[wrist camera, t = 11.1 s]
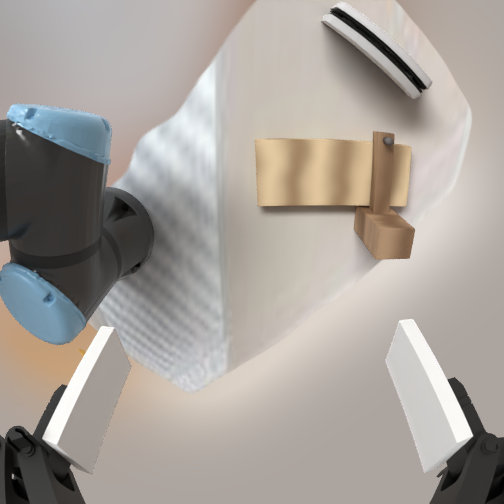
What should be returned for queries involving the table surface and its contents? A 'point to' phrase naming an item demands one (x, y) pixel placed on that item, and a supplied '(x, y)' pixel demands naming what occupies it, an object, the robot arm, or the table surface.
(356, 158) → the board
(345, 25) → the grey curved slab
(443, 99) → the table surface
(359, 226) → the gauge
